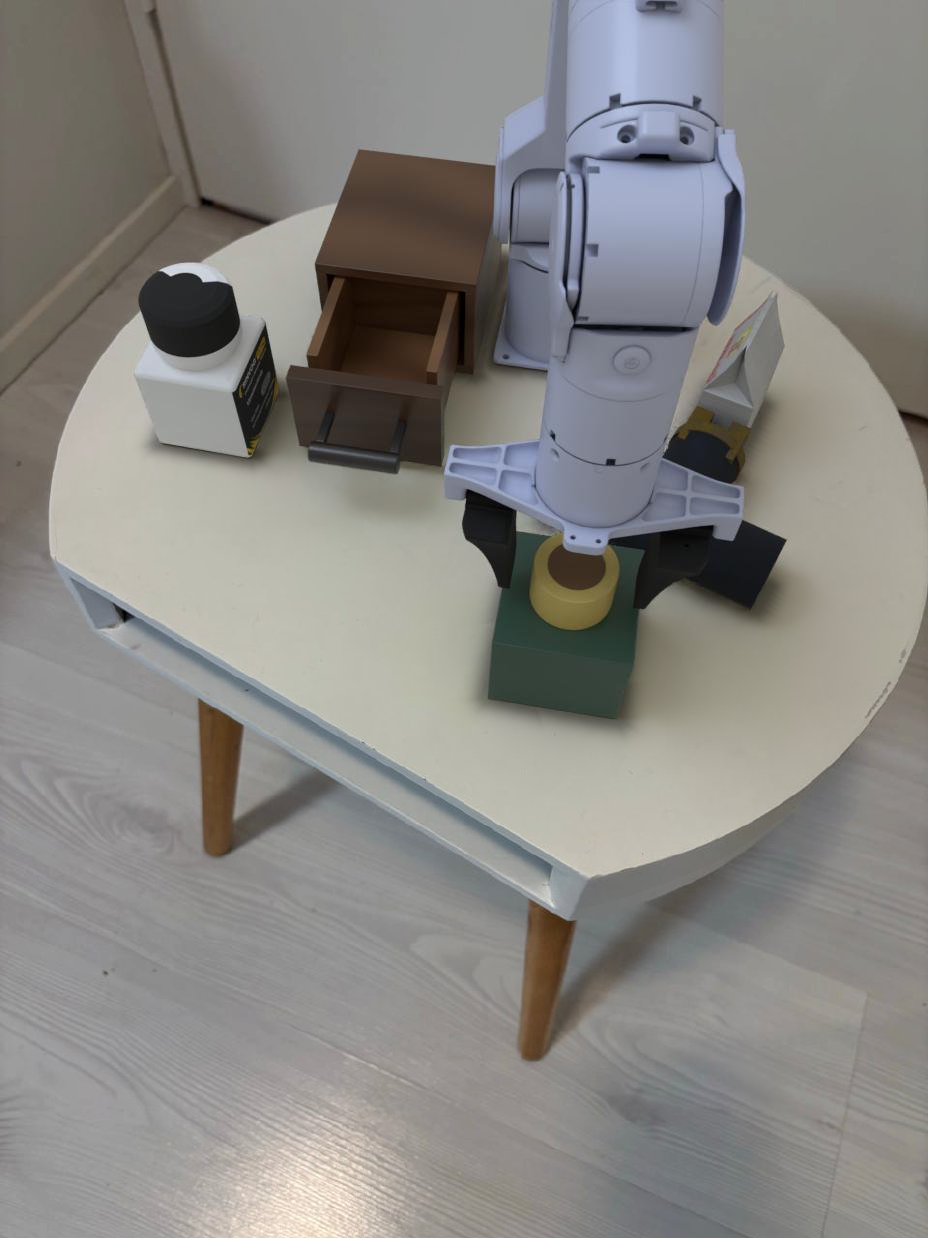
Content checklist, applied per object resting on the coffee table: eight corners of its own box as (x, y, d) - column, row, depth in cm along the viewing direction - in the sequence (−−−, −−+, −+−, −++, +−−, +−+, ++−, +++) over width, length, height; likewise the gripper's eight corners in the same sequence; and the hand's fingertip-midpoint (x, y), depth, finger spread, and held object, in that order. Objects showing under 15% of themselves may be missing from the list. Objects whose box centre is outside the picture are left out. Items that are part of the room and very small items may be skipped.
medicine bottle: (251, 460, 70) (218, 332, 59) (157, 444, 70) (108, 315, 60) (281, 389, 73) (254, 257, 63) (191, 374, 74) (150, 241, 64)
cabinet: (473, 375, 74) (476, 284, 67) (327, 354, 75) (314, 263, 68) (501, 259, 81) (506, 166, 74) (366, 242, 82) (358, 148, 75)
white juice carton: (761, 405, 73) (802, 299, 65) (731, 466, 70) (770, 363, 61) (715, 388, 74) (750, 282, 65) (684, 447, 71) (716, 344, 62)
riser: (626, 610, 64) (645, 549, 58) (615, 719, 59) (633, 665, 53) (506, 592, 64) (512, 529, 58) (487, 698, 60) (491, 643, 54)
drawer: (430, 512, 66) (428, 446, 61) (283, 490, 67) (268, 423, 61) (471, 344, 75) (473, 272, 69) (340, 326, 76) (331, 253, 70)
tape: (616, 567, 57) (624, 536, 54) (608, 636, 54) (616, 608, 52) (535, 555, 57) (539, 524, 55) (523, 623, 55) (527, 594, 52)
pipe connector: (626, 368, 68) (831, 454, 64) (616, 420, 72) (806, 503, 68) (548, 480, 63) (765, 581, 59) (542, 528, 67) (743, 624, 63)
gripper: (430, 461, 42) (434, 623, 53) (769, 511, 41) (697, 665, 52) (458, 347, 45) (456, 522, 57) (771, 389, 44) (703, 559, 56)
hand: (573, 583), depth 55 cm, fingers open, 7 cm apart
